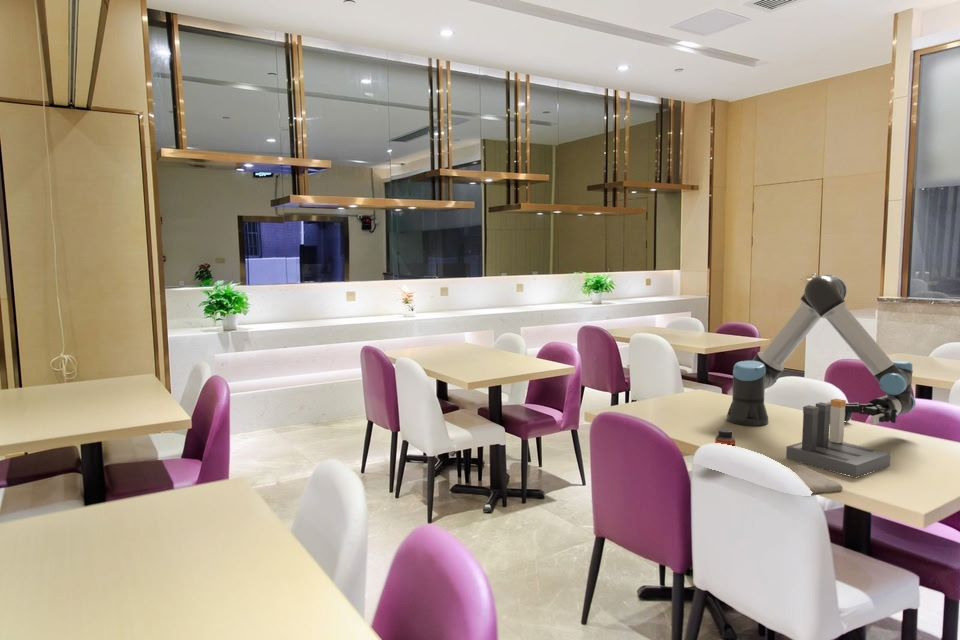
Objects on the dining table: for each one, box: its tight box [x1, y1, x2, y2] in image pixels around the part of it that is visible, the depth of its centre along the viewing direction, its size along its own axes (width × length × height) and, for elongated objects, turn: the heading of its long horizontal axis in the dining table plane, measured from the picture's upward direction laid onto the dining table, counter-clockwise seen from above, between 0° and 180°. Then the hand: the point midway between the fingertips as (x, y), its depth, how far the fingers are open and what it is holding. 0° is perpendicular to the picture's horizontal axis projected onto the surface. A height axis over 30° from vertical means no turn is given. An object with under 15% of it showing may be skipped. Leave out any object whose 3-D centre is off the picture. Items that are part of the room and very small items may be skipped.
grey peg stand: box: [785, 401, 891, 478], centre depth 201 cm, size 22×20×18 cm
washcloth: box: [785, 464, 843, 494], centre depth 185 cm, size 12×18×3 cm, turn 12°
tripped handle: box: [829, 398, 847, 443], centre depth 209 cm, size 3×3×14 cm
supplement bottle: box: [714, 428, 736, 447], centre depth 200 cm, size 6×6×11 cm
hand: (851, 416), depth 213 cm, fingers open, 13 cm apart
